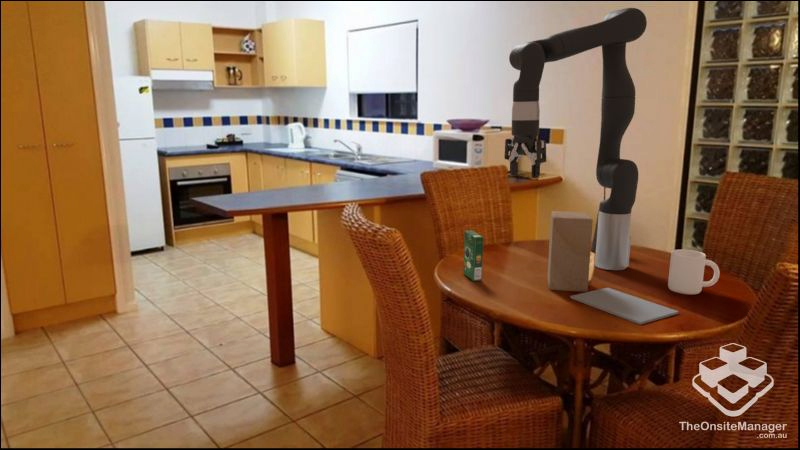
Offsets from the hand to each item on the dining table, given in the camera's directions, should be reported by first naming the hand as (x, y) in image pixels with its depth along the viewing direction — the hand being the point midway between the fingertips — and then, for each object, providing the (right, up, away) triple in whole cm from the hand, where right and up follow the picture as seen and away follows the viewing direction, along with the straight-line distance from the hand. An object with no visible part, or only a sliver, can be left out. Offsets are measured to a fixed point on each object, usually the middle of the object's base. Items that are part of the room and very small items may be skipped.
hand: (524, 176), depth 162 cm
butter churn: (+33, -23, +33) cm, 52 cm away
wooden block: (+11, -31, -4) cm, 33 cm away
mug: (+43, -32, -8) cm, 54 cm away
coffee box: (-14, -29, +3) cm, 33 cm away
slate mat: (+20, -34, -20) cm, 44 cm away
